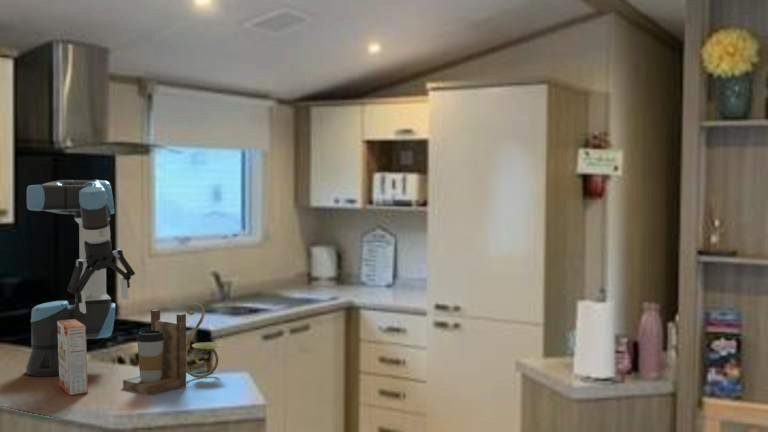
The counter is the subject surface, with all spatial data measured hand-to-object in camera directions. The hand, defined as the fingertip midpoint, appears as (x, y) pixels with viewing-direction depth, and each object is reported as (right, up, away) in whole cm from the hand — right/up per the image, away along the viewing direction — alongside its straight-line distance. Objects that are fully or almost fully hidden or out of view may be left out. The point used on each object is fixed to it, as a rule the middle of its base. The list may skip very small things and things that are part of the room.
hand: (104, 305), depth 252 cm
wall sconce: (+24, -27, +23) cm, 42 cm away
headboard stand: (+12, -27, +10) cm, 31 cm away
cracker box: (-12, -27, +6) cm, 30 cm away
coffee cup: (+12, -25, +9) cm, 29 cm away
